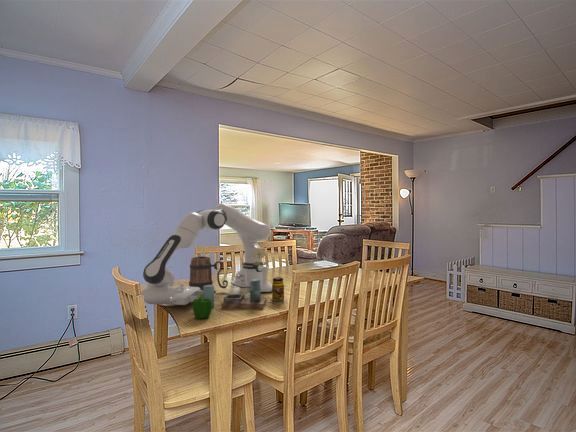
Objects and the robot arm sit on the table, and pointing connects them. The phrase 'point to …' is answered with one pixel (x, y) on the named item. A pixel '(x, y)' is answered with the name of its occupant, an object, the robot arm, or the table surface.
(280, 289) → the condiment
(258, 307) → the base
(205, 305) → the bell pepper
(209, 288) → the column
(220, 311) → the table surface
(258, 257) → the flower in vase
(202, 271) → the tankard
